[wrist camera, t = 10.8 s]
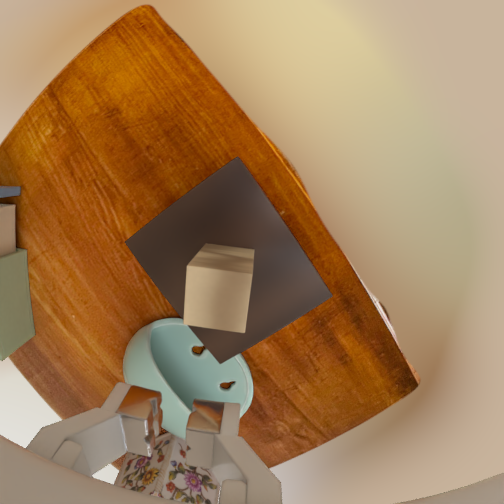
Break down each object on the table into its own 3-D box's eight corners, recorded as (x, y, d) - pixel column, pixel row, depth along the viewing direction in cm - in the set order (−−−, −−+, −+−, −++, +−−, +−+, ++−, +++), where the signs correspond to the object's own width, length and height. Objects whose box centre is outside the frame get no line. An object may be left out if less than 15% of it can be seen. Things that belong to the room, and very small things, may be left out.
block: (201, 289, 27) (183, 324, 20) (205, 243, 26) (186, 265, 19) (248, 295, 27) (244, 333, 20) (254, 249, 26) (252, 273, 19)
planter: (82, 373, 33) (185, 317, 30) (105, 346, 40) (198, 292, 37) (175, 470, 36) (279, 437, 34) (184, 437, 43) (277, 401, 41)
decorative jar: (128, 444, 44) (94, 523, 26) (176, 425, 42) (147, 518, 25) (175, 482, 46) (156, 558, 28) (224, 466, 44) (214, 554, 27)
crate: (158, 225, 36) (124, 242, 26) (244, 163, 34) (237, 156, 24) (229, 320, 38) (220, 364, 28) (314, 266, 36) (332, 296, 27)
